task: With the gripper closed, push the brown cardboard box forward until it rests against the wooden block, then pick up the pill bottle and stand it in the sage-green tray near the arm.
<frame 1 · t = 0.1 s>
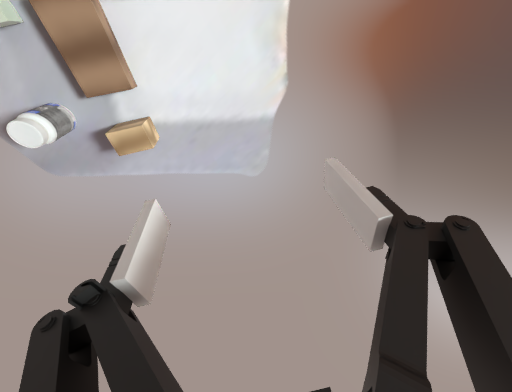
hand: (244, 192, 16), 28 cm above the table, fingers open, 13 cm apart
wooden block: (138, 130, 39), on the table
brown cardboard box: (94, 46, 31), on the table
pill bottle: (61, 117, 36), on the table
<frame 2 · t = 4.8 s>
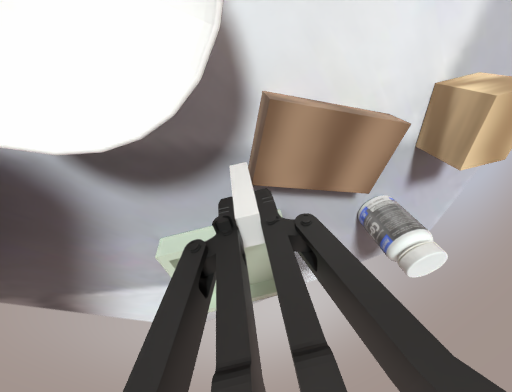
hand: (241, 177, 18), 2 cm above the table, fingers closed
wooden block: (444, 112, 20), on the table
brown cardboard box: (315, 141, 20), on the table, touching gripper
tray: (235, 259, 28), on the table
pill bottle: (373, 208, 27), on the table
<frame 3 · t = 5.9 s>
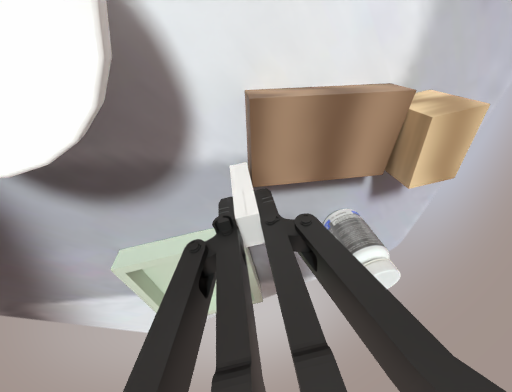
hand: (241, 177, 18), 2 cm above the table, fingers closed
wooden block: (399, 128, 20), on the table
brown cardboard box: (313, 129, 19), on the table, touching wooden block, gripper
tray: (200, 270, 28), on the table
pill bottle: (338, 220, 27), on the table
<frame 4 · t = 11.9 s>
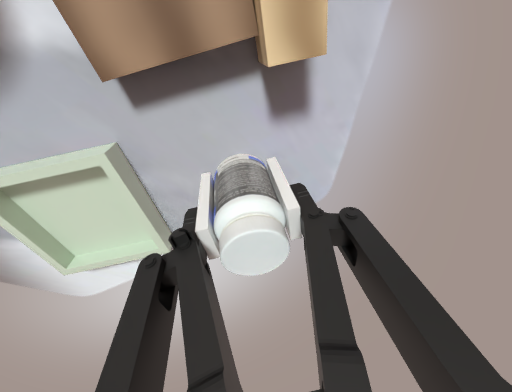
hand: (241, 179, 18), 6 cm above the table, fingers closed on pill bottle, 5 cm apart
wooden block: (277, 11, 16), on the table
brown cardboard box: (165, 2, 16), on the table
tray: (92, 210, 25), on the table
pill bottle: (241, 176, 19), point 5 cm above the table, touching gripper
when the fingers open (2 cm above the table, at t = 15.6 s): pill bottle stays where it is, resting on tray.
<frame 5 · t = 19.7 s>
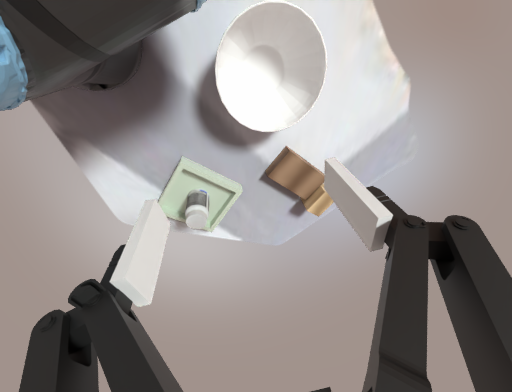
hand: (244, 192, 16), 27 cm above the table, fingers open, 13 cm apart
wooden block: (313, 192, 52), on the table
bowl: (263, 70, 35), on the table
brown cardboard box: (294, 170, 48), on the table
tray: (198, 194, 48), on the table
pill bottle: (199, 196, 47), resting on tray
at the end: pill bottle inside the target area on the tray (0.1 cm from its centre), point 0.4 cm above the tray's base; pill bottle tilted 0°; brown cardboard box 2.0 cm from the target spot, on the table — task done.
